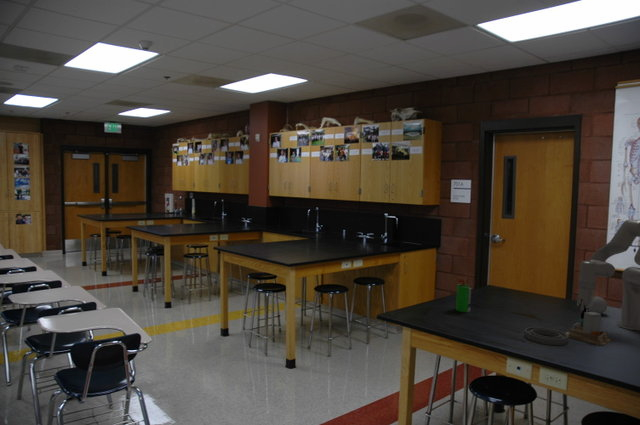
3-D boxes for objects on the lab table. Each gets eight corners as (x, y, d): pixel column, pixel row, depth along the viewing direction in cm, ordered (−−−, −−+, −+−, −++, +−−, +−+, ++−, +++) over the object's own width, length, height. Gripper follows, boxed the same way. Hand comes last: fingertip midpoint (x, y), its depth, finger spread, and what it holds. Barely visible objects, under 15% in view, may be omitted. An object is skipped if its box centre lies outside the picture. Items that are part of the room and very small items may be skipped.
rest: (572, 330, 235) (573, 323, 235) (612, 339, 222) (612, 332, 222) (561, 335, 225) (562, 328, 225) (602, 345, 213) (603, 338, 212)
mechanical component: (530, 330, 234) (531, 324, 234) (571, 339, 222) (571, 333, 222) (519, 338, 220) (519, 332, 220) (562, 348, 208) (562, 342, 208)
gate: (579, 326, 240) (579, 317, 239) (583, 327, 238) (584, 318, 238) (570, 330, 232) (571, 321, 232) (575, 331, 230) (575, 322, 230)
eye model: (601, 311, 274) (602, 294, 274) (610, 316, 264) (611, 299, 264) (583, 310, 275) (584, 294, 275) (591, 315, 265) (592, 298, 264)
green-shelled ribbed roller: (472, 312, 262) (474, 281, 261) (458, 312, 263) (459, 280, 262) (467, 308, 272) (469, 277, 270) (453, 307, 272) (455, 277, 271)
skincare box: (589, 339, 219) (591, 314, 219) (582, 336, 224) (583, 312, 223) (599, 339, 221) (601, 314, 220) (592, 336, 225) (593, 311, 224)
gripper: (584, 282, 248) (581, 316, 250) (573, 285, 238) (571, 321, 239) (600, 285, 243) (597, 319, 244) (590, 288, 233) (587, 324, 234)
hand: (584, 320), depth 242 cm, fingers closed
